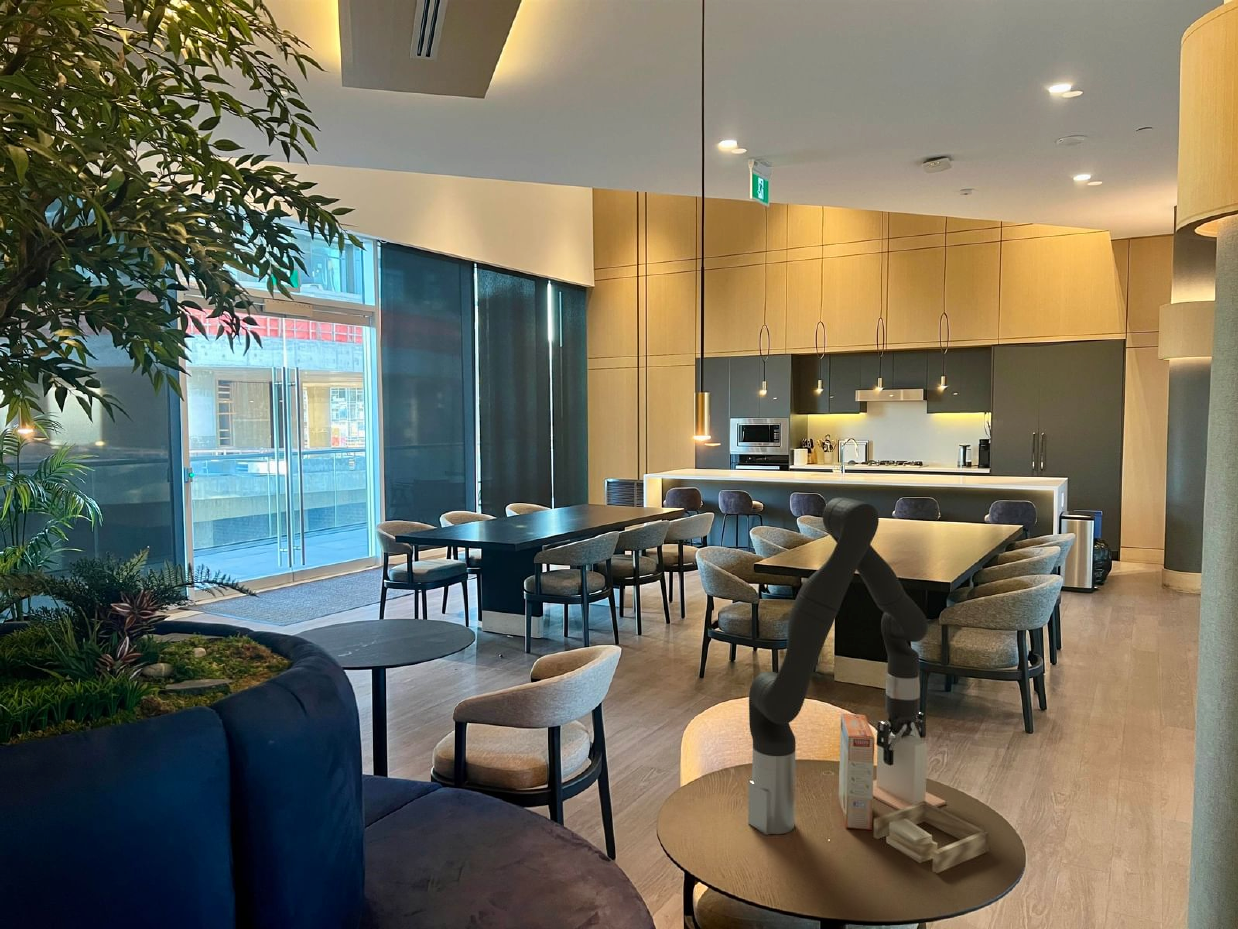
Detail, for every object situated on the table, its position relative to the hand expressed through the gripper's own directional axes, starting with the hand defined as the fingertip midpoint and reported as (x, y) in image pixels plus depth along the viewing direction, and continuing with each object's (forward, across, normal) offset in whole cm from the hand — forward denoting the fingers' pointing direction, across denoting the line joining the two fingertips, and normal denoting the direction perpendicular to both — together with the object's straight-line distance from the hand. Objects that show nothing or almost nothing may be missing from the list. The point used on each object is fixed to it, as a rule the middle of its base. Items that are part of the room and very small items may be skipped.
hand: (901, 760), depth 192 cm
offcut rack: (+9, +12, +18) cm, 23 cm away
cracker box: (+9, +16, +1) cm, 18 cm away
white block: (+8, 0, 0) cm, 8 cm away
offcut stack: (+9, +17, +17) cm, 26 cm away
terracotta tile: (+9, 0, 0) cm, 9 cm away
